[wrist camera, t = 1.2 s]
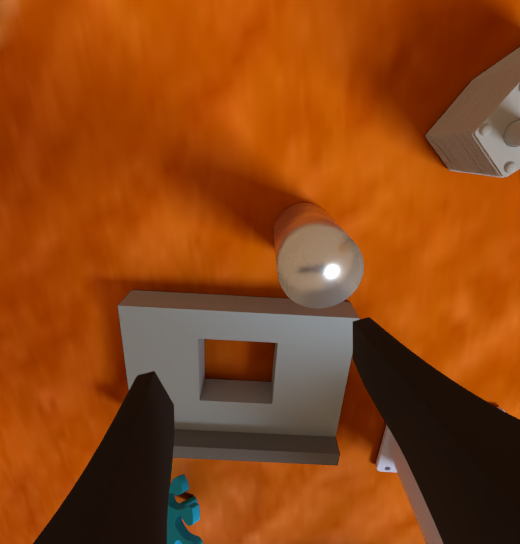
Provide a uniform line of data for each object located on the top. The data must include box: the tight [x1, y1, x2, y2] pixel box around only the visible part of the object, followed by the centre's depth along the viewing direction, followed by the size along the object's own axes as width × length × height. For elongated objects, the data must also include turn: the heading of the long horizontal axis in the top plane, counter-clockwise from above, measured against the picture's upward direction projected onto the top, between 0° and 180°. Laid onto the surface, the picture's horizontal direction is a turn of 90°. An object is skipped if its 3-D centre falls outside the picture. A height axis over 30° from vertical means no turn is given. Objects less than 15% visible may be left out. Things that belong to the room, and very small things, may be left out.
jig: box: [118, 290, 359, 465], centre depth 23 cm, size 16×12×4 cm
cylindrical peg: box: [273, 203, 364, 309], centre depth 18 cm, size 4×4×7 cm
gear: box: [167, 469, 203, 544], centre depth 29 cm, size 11×6×10 cm
